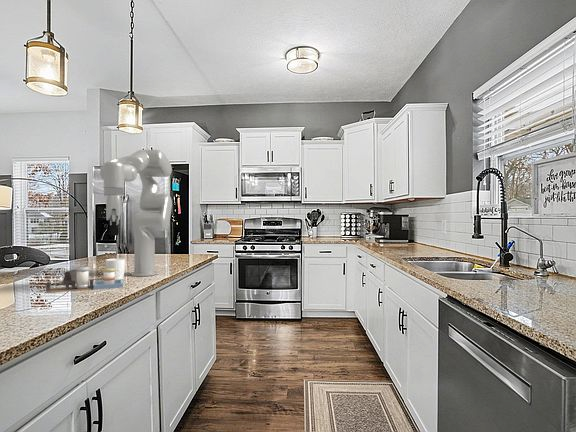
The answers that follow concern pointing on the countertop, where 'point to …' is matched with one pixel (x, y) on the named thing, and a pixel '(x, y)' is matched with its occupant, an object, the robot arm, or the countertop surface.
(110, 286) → the tray
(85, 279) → the grey rounded cylinder
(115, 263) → the white cup
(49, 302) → the countertop surface
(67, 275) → the perforated stone tool
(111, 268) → the marked fuse
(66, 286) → the fuse holder
